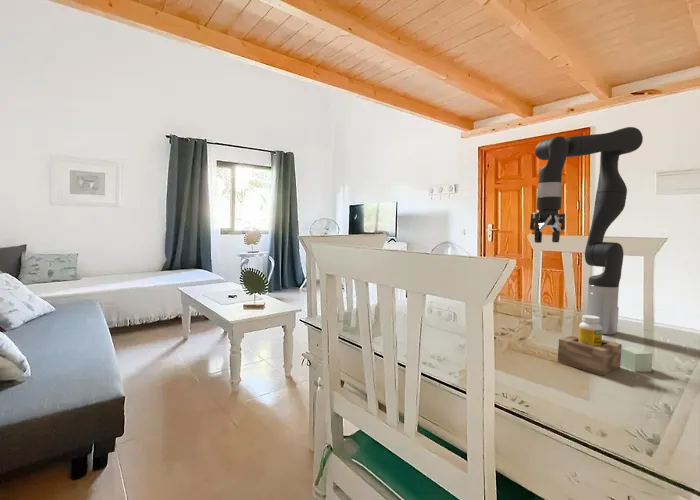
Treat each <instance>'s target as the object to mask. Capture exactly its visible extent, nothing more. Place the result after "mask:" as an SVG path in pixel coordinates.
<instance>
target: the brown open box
mask: <svg viewBox="0 0 700 500" xmlns="http://www.w3.org/2000/svg"><path fill="white" fill-rule="evenodd" d="M578 341H579V333H577V334H573V335H570V336H566V337H563V338H559V339H558V349H557V351H558V352H557V362H558V363H560V364H562V365H567V366H570V367H573V368H577V369H580V370H583V371H585V372H589V373H590V374H591V373H592V374H595V375H598V376H603V375H605V374H608V373H611V372H612V371H615V370H617V369H620V368H621V366H620V362H621V348H622V347H623V346H622V344H621V343H618V342H614V341H609V340H605V339H602V342H601V346H598V347H595V346H591V345H587V344H584V343H580V342H578Z"/></svg>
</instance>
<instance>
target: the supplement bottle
mask: <svg viewBox="0 0 700 500" xmlns="http://www.w3.org/2000/svg"><path fill="white" fill-rule="evenodd" d="M581 319H582V321H581V322H580V323H579V325H578V334H579V341H578V342H580V343H584V344H587V345H591V346H595V347H598V346H601V342H602V340H603V339H602V338H603V337H602V336H603V334H602V326H601V325H599V324H598V323H599V322H600V317H597V316H592V315H587V314H585V315H582V318H581Z"/></svg>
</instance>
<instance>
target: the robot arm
mask: <svg viewBox="0 0 700 500" xmlns="http://www.w3.org/2000/svg"><path fill="white" fill-rule="evenodd" d="M643 142H644V141H643V133H642V132H641V130H640V129H639V128H638V127H636V126H635V127H634V126H627V127H623V128H619V129H616V130H613V131H610V132H605V133H604V132H603V133H598V134H584V135H583V134H582V135H572V136H568V137H564V136H560V135H558V136H553V137H551V138H548V139H544V140H541V141H540V142H539V143H537V145H536V146H535V149H534V155H535V156H536V158H538V159H539V160H542V161H547V163H546V164H545V165H544V166H542V167H541V168H539V171H538V185H537V192H536V210H537V211H538V212H531V214H530V222H529V230H530V231H533V232H534V243H535V244H537V243H538V244H541V243H542V240H543V232H542V231H543V229H545V227H547V226H549V227H550V228H551V231H552V234H551V237H552V238H551V240H552V241H551V242H552V243H559V242H560V236H561V232H562V231H565V230H566V213H564V212H562V213H561V212H560V213H559V211H560V210H561V208H562V195H563V194H562V192H563V189H562V188H563V187H562V176H563V175H562V174H563V168H564V166H565V163H566V160H567V158H573V157H581V156H587V155H593V154H597V153H600V159H599V161H600V162H599V175H598V181H597V188H596V194H595V200H594V209H593V215H592V221H591V225H590V230H589V232H588V233H589V234H588V238H587V241H586V244H585V245H586V246H585V251H584V258H585V259H584V261H585V263H586V264H587V266H592V267H598V268H599V267H601V268H604V270H603V272H601V273H600V274H596V275H591V276H589V277H588V285H587V301H586V302H587V305H586V315H592V316H597V317H600V322H599V323H598V324H599V325H601V326H602V335H615V334H617V332H618V324H619V322H618V321H619V293H620V292H619V290H620V282H621V278H622V269H623V261H624V248H623V246H622V244H621V243H619V242H615V241H614V242H612V241H609V242H608V241H604V238H605V235H606V232H607V230H608V229H609V227H610V226H611V225H612V223H614V221H615V220H617V218H619V216H620V215H621V214H622V213H623V211H624V209H625V207H626V202H627V201H626V200H627V194H628V189H627V185H626V183H625V181H624V179H623V178H622V175H621V174H620V171H619V159H620V156H621V155H626V154H630V153H633V152H634V151H637V150H638V149H639V148H640V147H641V146H642V144H643Z"/></svg>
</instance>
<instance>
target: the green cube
mask: <svg viewBox="0 0 700 500" xmlns="http://www.w3.org/2000/svg"><path fill="white" fill-rule="evenodd" d="M652 366H653V353H652V352H650V351H648V350H646V349H645V350H644V349H641V348H639V347H638V346H637V347H636V346H631V347H630V346H628V347H623V346H622V347H621V362H620V367H623V368H625V369H627V370H629V369H630V370H629V371H632V372H634V371H645V372H652Z"/></svg>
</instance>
